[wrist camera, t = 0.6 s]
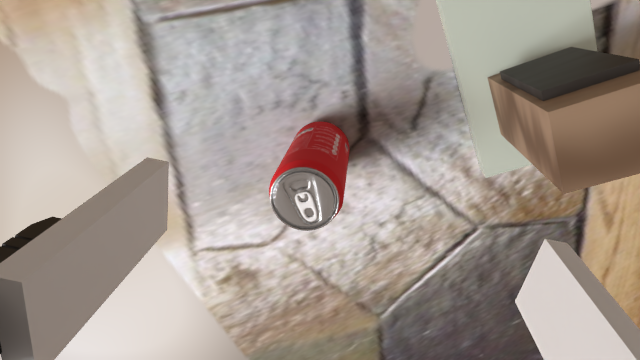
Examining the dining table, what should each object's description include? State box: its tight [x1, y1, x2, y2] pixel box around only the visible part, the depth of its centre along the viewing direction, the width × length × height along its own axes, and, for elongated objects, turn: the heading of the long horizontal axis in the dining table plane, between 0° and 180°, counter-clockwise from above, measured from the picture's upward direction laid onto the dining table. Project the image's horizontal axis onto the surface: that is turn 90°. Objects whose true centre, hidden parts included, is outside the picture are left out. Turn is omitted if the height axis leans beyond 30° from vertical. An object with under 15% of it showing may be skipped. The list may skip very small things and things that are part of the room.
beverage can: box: [269, 122, 349, 231], centre depth 33 cm, size 5×5×12 cm
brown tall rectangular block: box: [487, 47, 640, 194], centre depth 27 cm, size 6×6×12 cm
